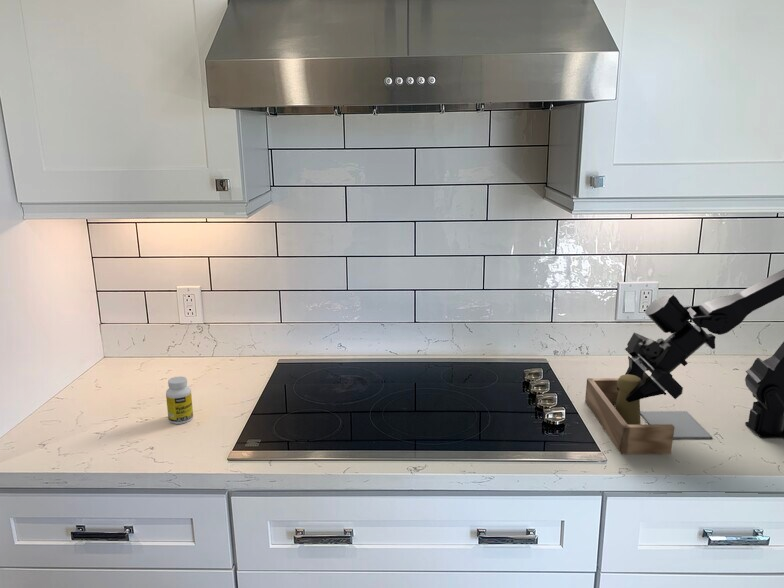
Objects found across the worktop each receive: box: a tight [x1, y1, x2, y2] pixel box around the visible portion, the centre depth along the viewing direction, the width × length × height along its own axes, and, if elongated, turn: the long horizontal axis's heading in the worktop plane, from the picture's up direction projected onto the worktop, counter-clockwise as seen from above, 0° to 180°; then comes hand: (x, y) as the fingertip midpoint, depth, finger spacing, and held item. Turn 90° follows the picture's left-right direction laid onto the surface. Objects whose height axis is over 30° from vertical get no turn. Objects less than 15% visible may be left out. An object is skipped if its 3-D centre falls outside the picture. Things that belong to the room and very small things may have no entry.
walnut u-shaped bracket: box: [584, 377, 675, 455], centre depth 138 cm, size 10×24×6 cm, turn 0°
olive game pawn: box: [614, 374, 642, 425], centre depth 137 cm, size 6×6×11 cm
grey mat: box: [640, 410, 713, 440], centre depth 139 cm, size 11×12×1 cm
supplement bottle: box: [165, 375, 194, 425], centre depth 141 cm, size 5×5×10 cm
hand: (622, 395), depth 137 cm, fingers closed on olive game pawn, 5 cm apart
